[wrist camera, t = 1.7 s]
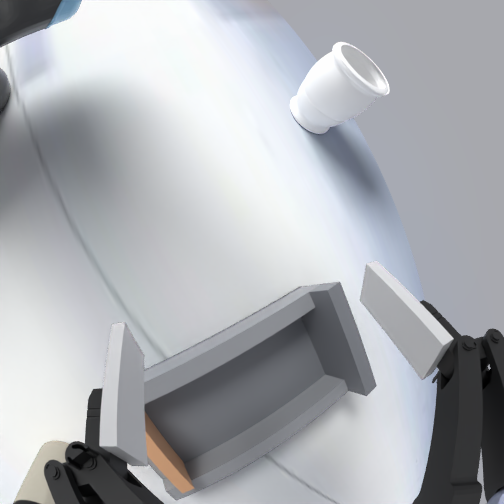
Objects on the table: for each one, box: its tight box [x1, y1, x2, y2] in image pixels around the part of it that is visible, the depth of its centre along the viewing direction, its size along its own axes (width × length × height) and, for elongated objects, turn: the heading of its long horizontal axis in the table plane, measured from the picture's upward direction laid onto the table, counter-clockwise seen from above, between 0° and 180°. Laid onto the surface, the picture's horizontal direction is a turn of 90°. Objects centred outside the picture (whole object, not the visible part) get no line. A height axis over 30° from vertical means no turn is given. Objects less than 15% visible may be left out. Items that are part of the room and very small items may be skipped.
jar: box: [290, 42, 389, 134], centre depth 36 cm, size 11×10×15 cm
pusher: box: [145, 412, 194, 494], centre depth 21 cm, size 10×2×6 cm, turn 27°
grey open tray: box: [144, 282, 376, 500], centre depth 26 cm, size 15×28×8 cm, turn 117°
